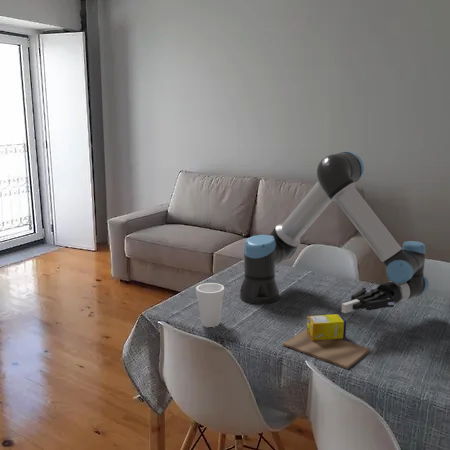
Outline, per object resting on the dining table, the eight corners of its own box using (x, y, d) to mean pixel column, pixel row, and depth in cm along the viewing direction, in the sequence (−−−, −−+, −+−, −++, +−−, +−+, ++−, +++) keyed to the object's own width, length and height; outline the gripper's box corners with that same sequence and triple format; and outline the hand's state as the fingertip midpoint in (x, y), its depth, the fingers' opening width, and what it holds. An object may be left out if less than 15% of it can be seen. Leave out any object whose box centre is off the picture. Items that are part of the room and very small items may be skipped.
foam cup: (228, 320, 176) (228, 284, 173) (219, 331, 168) (218, 294, 164) (202, 316, 179) (202, 281, 176) (192, 327, 171) (191, 291, 168)
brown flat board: (282, 345, 157) (282, 343, 157) (307, 330, 167) (307, 328, 167) (347, 369, 143) (347, 366, 143) (369, 351, 153) (369, 348, 153)
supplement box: (339, 330, 165) (306, 332, 164) (340, 313, 164) (307, 315, 162) (345, 339, 160) (311, 341, 158) (346, 321, 158) (312, 323, 157)
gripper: (408, 309, 166) (359, 327, 153) (376, 296, 177) (327, 312, 164) (410, 287, 164) (360, 303, 151) (377, 276, 175) (328, 290, 162)
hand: (343, 308), depth 158 cm, fingers closed
